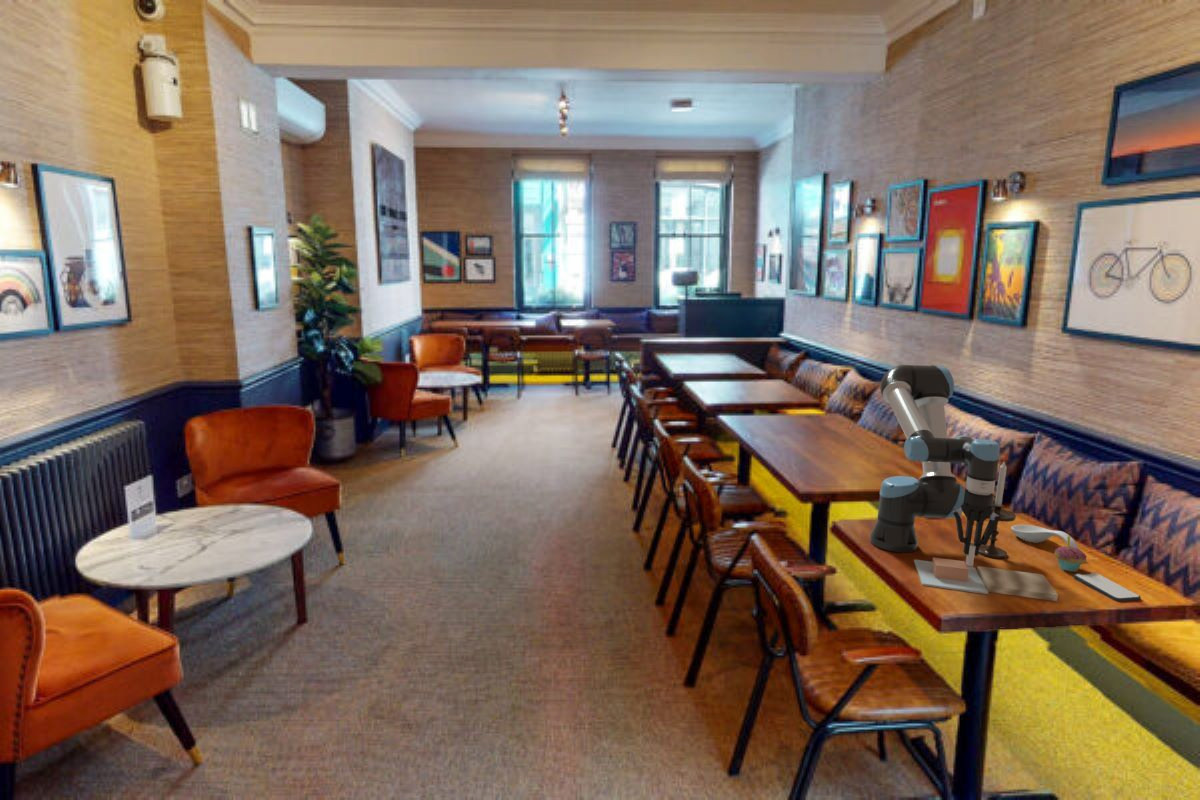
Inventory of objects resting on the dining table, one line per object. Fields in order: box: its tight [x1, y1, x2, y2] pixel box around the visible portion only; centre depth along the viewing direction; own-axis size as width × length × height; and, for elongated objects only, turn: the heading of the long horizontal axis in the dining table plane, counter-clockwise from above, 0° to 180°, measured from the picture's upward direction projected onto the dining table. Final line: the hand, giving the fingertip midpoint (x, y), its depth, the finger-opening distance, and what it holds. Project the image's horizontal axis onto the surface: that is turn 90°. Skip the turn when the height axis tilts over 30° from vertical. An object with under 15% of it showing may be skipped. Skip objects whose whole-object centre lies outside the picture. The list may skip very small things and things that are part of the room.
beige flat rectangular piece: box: [976, 565, 1059, 602], centre depth 206 cm, size 18×14×2 cm
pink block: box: [931, 556, 969, 581], centre depth 211 cm, size 9×6×4 cm, turn 73°
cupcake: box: [1054, 533, 1087, 572], centre depth 218 cm, size 9×8×12 cm
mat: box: [913, 559, 989, 595], centre depth 212 cm, size 18×18×1 cm
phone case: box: [1073, 572, 1141, 603], centre depth 206 cm, size 9×2×16 cm
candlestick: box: [978, 452, 1017, 560], centre depth 227 cm, size 11×11×35 cm
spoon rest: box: [1010, 524, 1080, 550], centre depth 237 cm, size 24×12×7 cm, turn 16°
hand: (969, 564), depth 209 cm, fingers closed
